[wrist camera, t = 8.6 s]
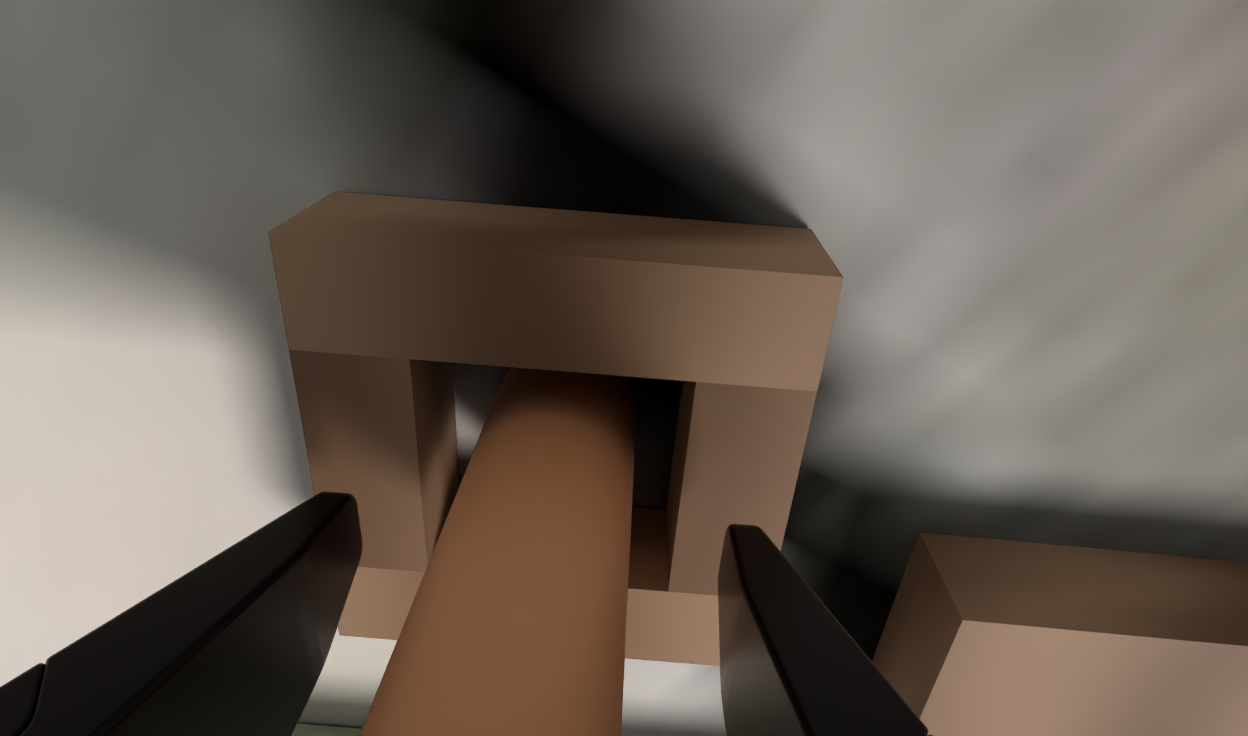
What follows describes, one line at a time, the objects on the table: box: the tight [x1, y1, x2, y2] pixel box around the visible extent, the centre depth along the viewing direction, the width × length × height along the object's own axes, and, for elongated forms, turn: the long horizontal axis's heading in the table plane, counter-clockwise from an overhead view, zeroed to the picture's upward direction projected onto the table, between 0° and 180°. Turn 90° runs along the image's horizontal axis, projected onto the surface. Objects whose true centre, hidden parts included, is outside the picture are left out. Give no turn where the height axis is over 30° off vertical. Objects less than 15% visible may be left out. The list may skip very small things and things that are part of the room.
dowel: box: [359, 367, 636, 736], centre depth 8 cm, size 2×2×9 cm
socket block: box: [268, 192, 843, 666], centre depth 11 cm, size 7×7×2 cm
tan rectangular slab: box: [872, 532, 1248, 736], centre depth 14 cm, size 10×7×2 cm
